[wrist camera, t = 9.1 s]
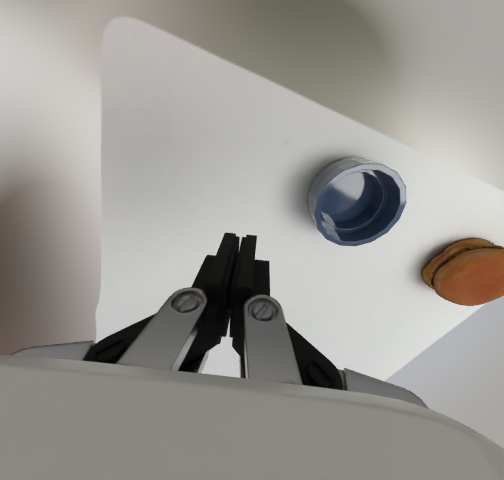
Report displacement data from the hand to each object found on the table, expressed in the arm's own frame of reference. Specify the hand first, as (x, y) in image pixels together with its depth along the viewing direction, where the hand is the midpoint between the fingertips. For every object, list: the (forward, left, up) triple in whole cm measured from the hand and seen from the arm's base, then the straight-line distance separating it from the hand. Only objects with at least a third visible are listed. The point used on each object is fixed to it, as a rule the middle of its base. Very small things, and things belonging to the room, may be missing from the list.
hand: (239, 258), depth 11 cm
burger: (+9, +31, -17) cm, 37 cm away
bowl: (0, +12, -17) cm, 21 cm away
